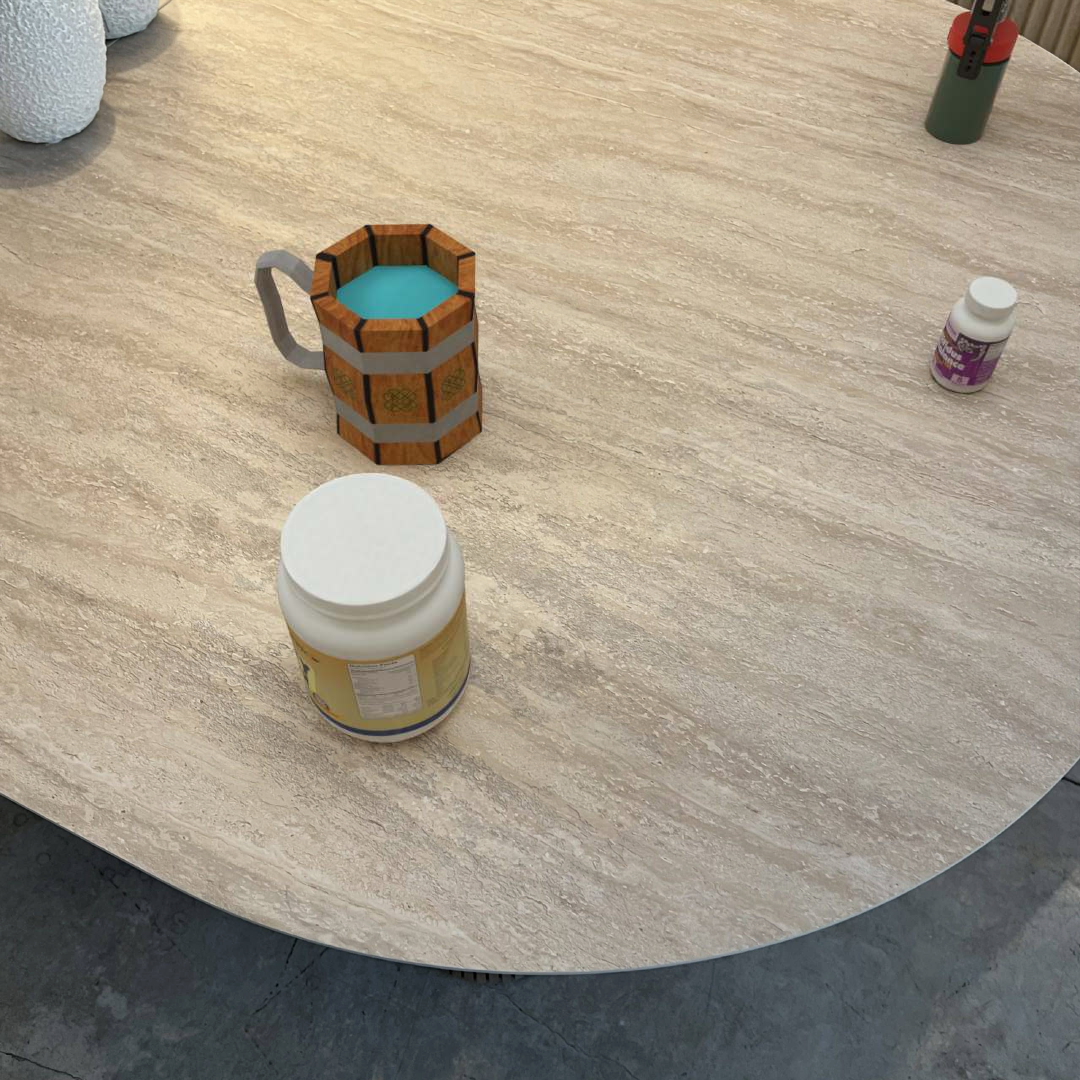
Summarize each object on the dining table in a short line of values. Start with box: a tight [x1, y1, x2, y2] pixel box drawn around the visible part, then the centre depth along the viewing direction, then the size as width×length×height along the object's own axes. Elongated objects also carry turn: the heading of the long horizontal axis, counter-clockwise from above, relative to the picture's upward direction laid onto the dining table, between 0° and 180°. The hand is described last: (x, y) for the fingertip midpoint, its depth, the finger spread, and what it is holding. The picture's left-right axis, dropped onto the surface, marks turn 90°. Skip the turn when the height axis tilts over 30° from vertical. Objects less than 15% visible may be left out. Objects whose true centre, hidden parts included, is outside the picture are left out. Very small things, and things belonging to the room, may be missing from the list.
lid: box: [946, 10, 1020, 63], centre depth 119 cm, size 7×7×2 cm
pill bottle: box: [930, 276, 1019, 394], centre depth 100 cm, size 5×5×10 cm
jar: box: [924, 46, 1012, 145], centre depth 123 cm, size 6×6×11 cm
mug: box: [253, 223, 483, 466], centre depth 95 cm, size 20×14×15 cm
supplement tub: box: [276, 472, 472, 743], centre depth 77 cm, size 12×12×17 cm
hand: (974, 59), depth 121 cm, fingers closed on lid, 6 cm apart
